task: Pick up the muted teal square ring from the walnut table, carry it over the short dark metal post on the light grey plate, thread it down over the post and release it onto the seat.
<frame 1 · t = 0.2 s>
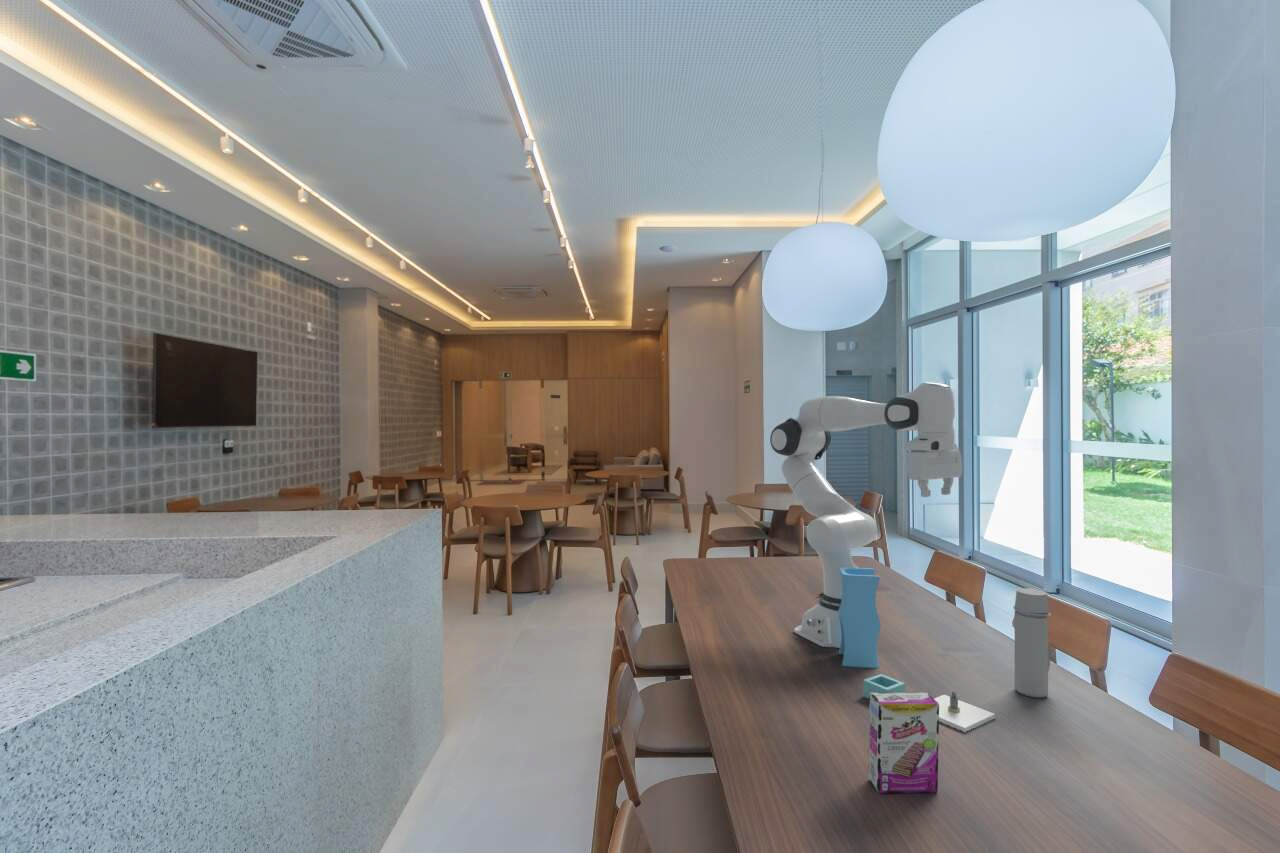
hand: (935, 495, 164), 47 cm above the table, tool pointing down, fingers open, 8 cm apart
water bottle: (1034, 693, 153), on the table
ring: (884, 698, 150), on the table
candy bar box: (903, 787, 113), on the table
vase: (858, 661, 174), on the table
post stand: (954, 714, 141), on the table
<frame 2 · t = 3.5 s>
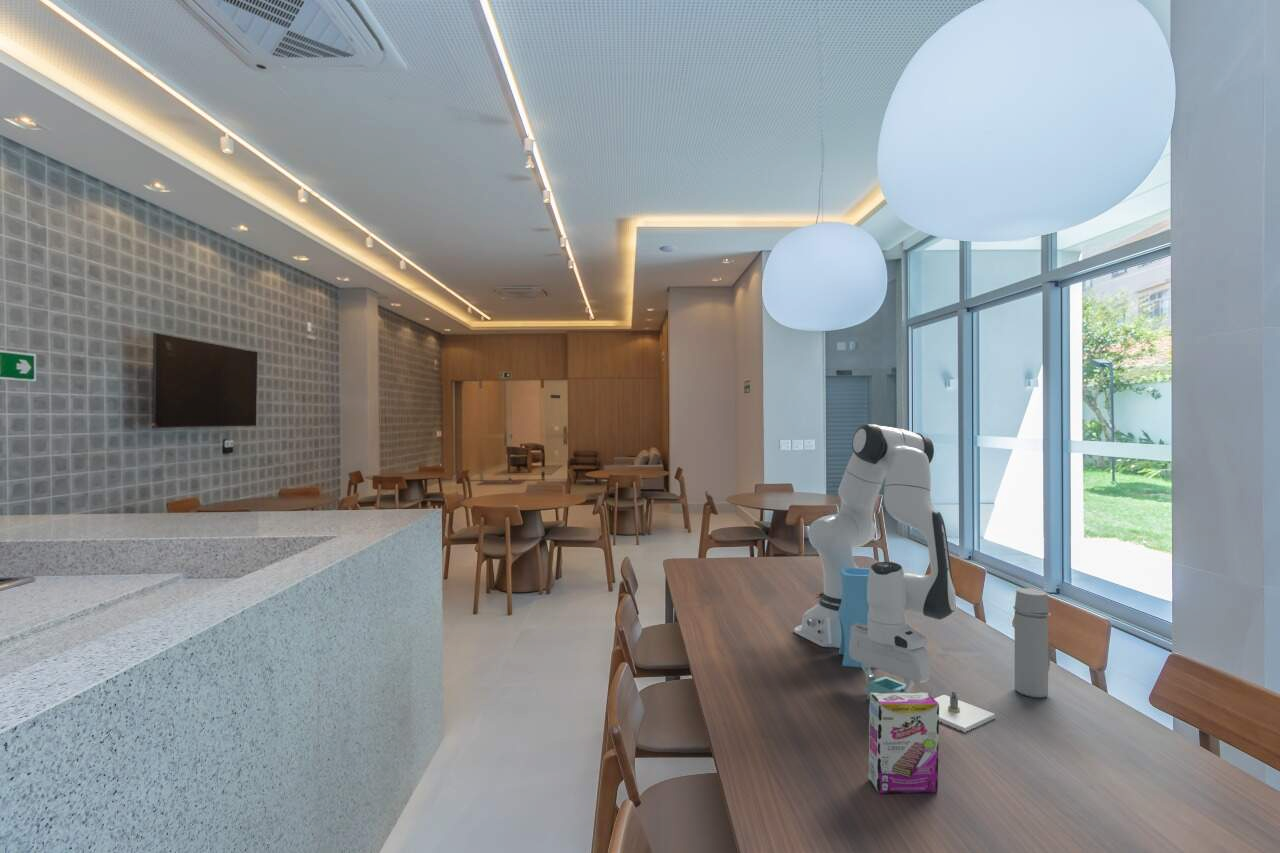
hand: (887, 688, 149), 2 cm above the table, tool pointing down, fingers open, 8 cm apart
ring: (888, 700, 148), on the table, touching gripper
everything else where it was.
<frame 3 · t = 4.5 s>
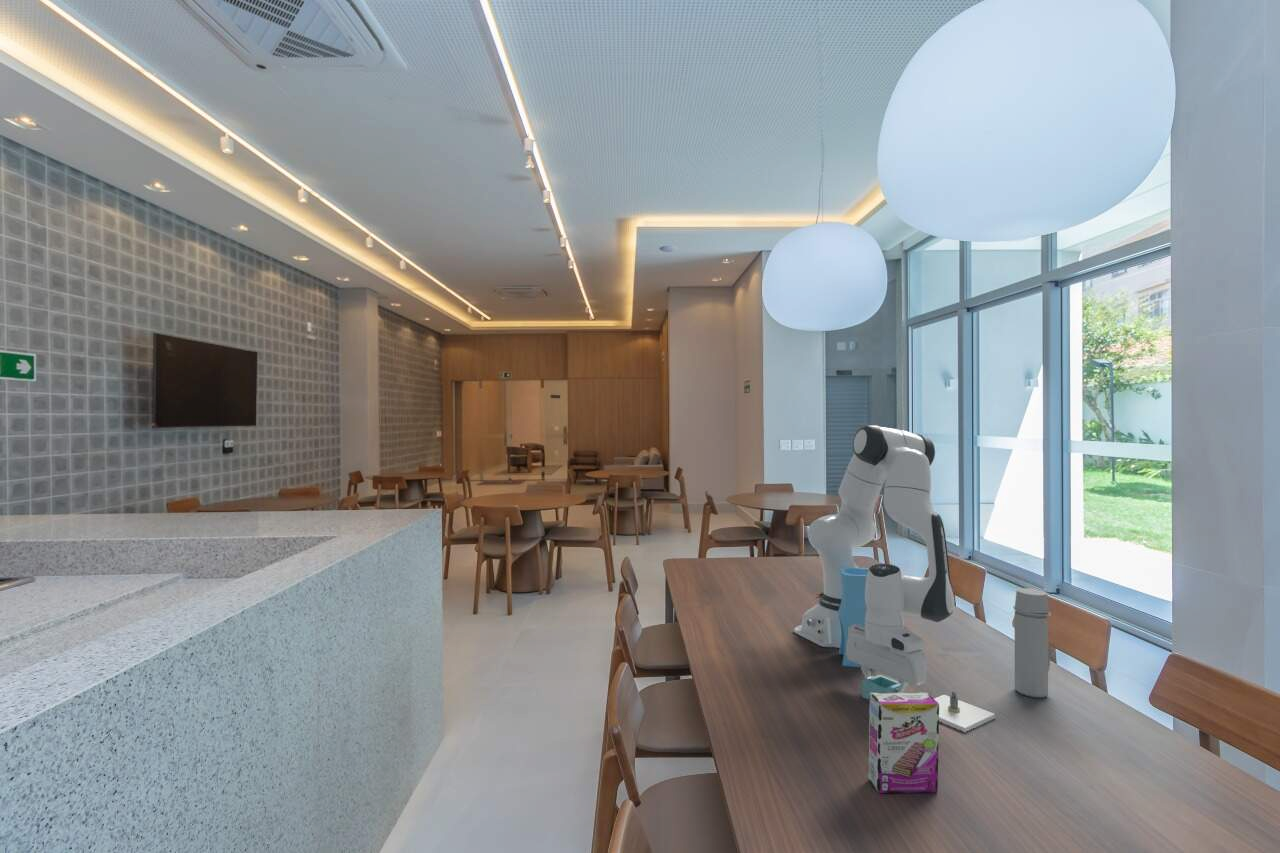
hand: (884, 690, 150), 2 cm above the table, tool pointing down, fingers closed on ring, 7 cm apart
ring: (883, 698, 149), on the table, touching gripper
everything else where it was.
when the fingers open (5 cm above the table, at t = 10.3 s): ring drops 3 cm, resting on post stand.
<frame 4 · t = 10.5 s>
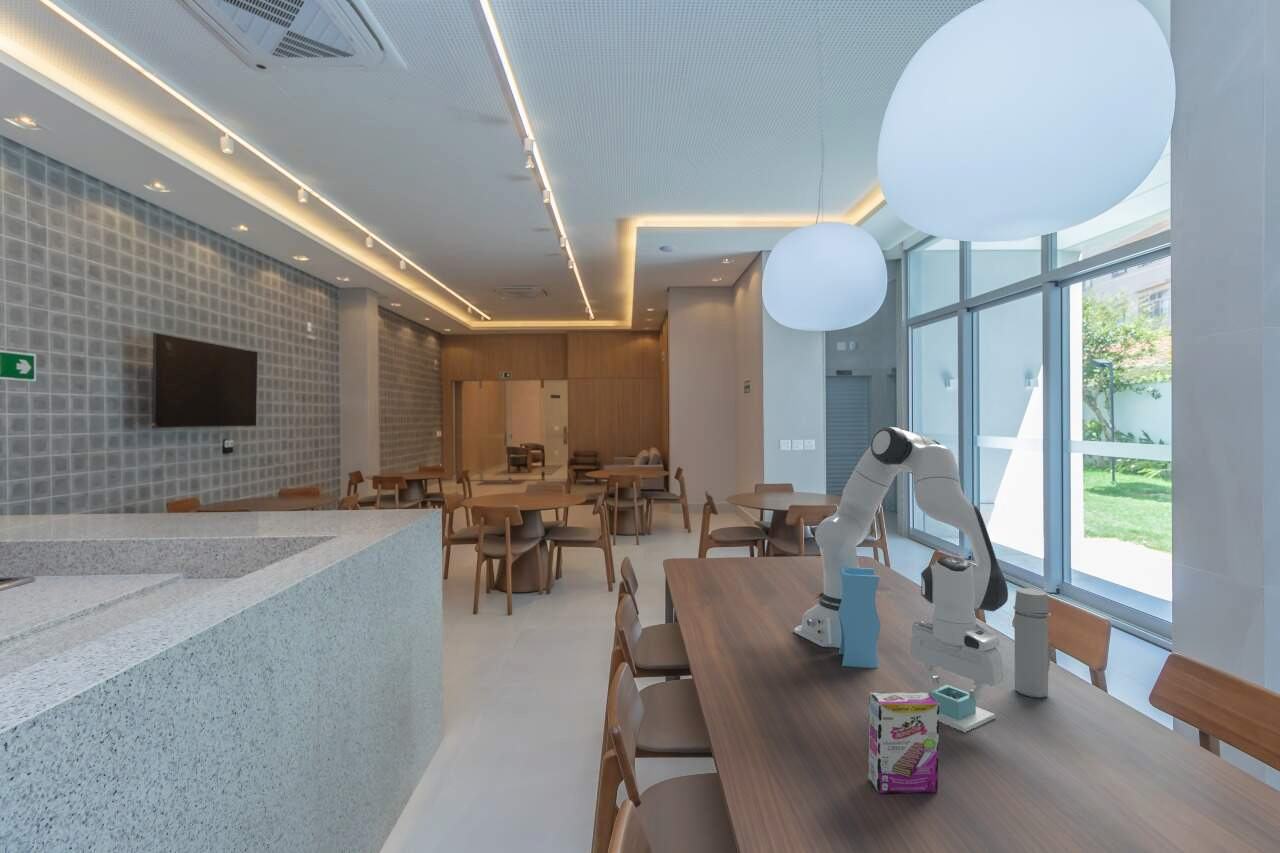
hand: (953, 690, 141), 5 cm above the table, tool pointing down, fingers open, 8 cm apart
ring: (952, 710, 141), point 1 cm above the table, touching post stand
everything else where it was.
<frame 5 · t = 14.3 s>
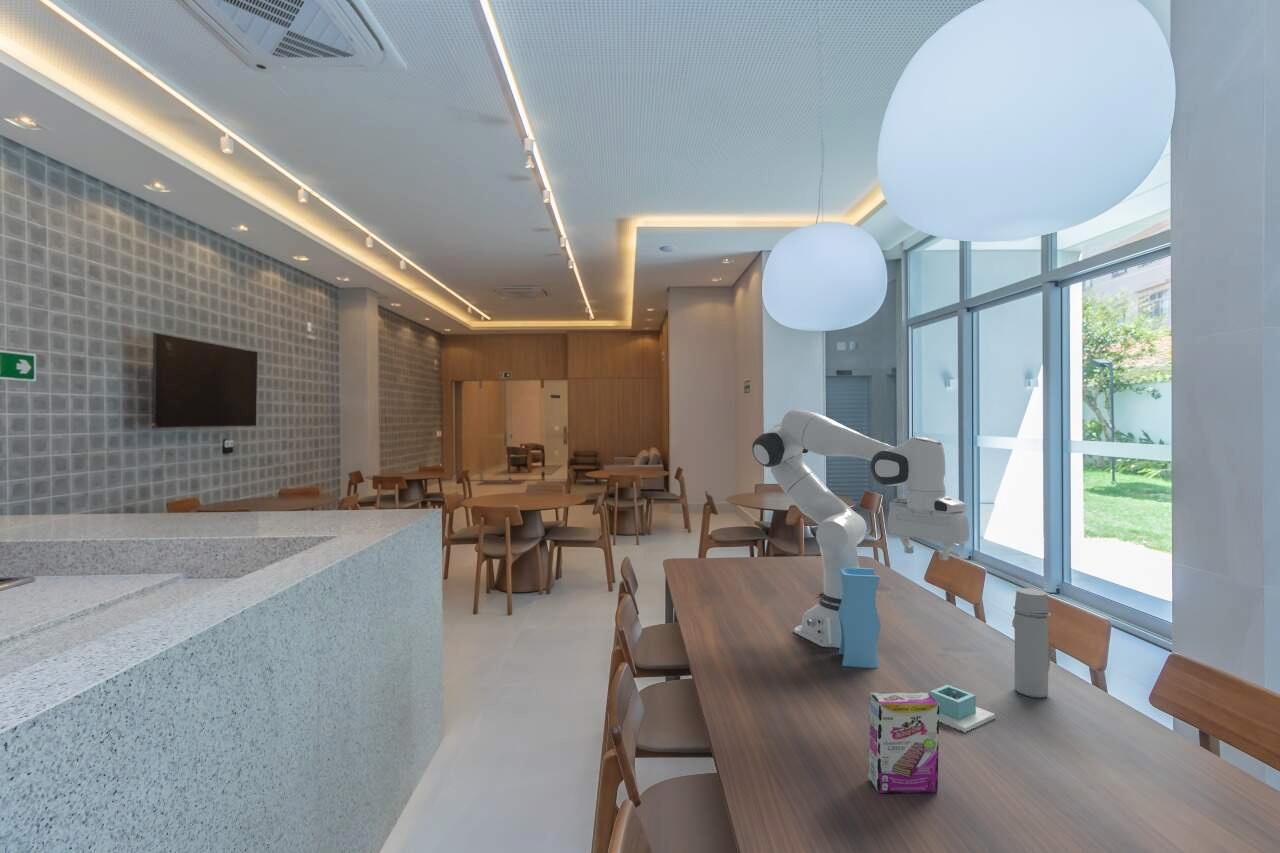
hand: (926, 556, 156), 33 cm above the table, tool pointing down, fingers open, 8 cm apart
nothing on the table moved.
at the end: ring 0.5 cm off-centre on the post stand, point 1.0 cm above the post stand's base; the gripper is holding nothing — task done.
